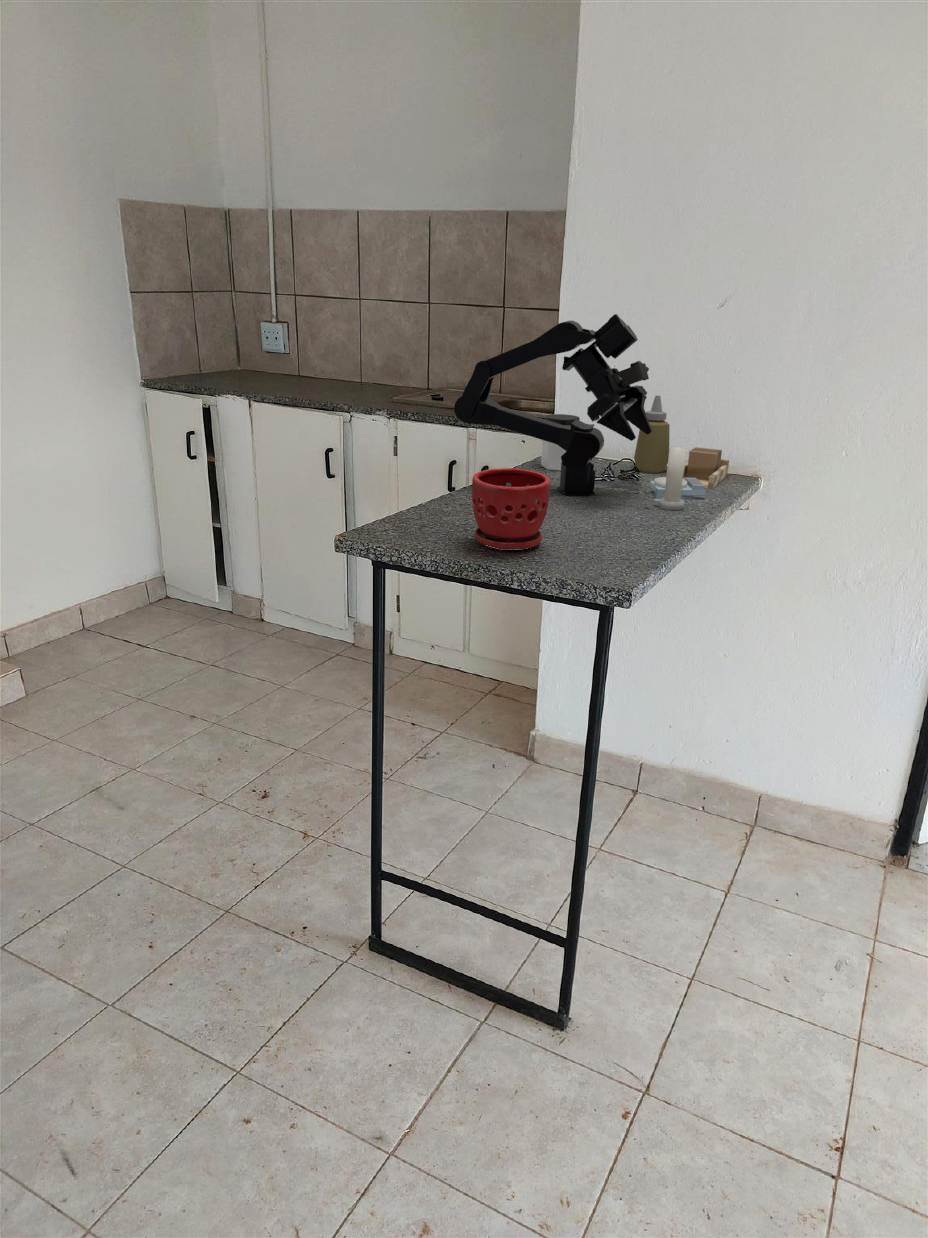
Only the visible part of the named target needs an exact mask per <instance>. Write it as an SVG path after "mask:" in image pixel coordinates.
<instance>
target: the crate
mask: <svg viewBox="0 0 928 1238" xmlns="http://www.w3.org/2000/svg"><path fill="white" fill-rule="evenodd" d="M722 453H723V449H716V448H709V447H708V448H707V447H698V446H697V447H693V448H692V449H691V450H689V453H688V461H687V462H688V469H687V477H686V478H697V479H700V480H709V477H710V476H711V475H712V474H713V473H714V472H715V471H717V470H718V469H719V468H720V462H721V459H722Z"/></svg>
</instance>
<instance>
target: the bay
mask: <svg viewBox="0 0 928 1238" xmlns="http://www.w3.org/2000/svg"><path fill="white" fill-rule="evenodd" d="M729 464H730V460H729V459H722V458H721V462H720V468H719V469H718V470H717V471H715V472H714V473H713V474H712V475H711V476H710V477H709V480H700V479H698V480H699V481H700V482H701V483H702V484H703V485H705V489H708V490H713V489H714V488H715V487H716V486H717V485H719V484H720V483H721V482H722V481H723V480H724V479H725V478H726V477H727V476H728V472H729ZM687 469H688V461H685V463H684V472H683V479H684V480H685V478H686V477H687Z"/></svg>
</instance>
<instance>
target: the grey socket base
mask: <svg viewBox="0 0 928 1238" xmlns="http://www.w3.org/2000/svg"><path fill="white" fill-rule="evenodd" d="M665 485H666V476H662V477H661V476H659V477H655V478H654V480H650V481H649V486H650V488H651V489H652V490H650V492H651V493H652V495H653V497H655V499H660V498H663V497H664V494H665ZM700 496H706V488H705V485H703V484H702V483H701V482H700V481H699V480H698V479H697V478H685V480H684V479H683V480H682V489H681V497H680V499H683V500H698V501H699V500H700V501H701V500H703V501H704V500H705V497H700Z"/></svg>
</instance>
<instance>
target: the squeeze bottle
mask: <svg viewBox="0 0 928 1238" xmlns="http://www.w3.org/2000/svg"><path fill="white" fill-rule="evenodd" d="M662 406H663V405H662V397H661V395H655V396H654V398H653V403H652V406H651V408H650V410H646V411H645V413H646V416H647V419H648V421H649V424H650V427H651V430H652V432H651V433H650V434H648V435H647V434H646V433H644V432H643V431H641V430H640V429H638V430H639V431H638V435H637V436H638V437H637V441H636V447H635V450H634V451H635V452H634V456H633V460H634V463H635V468H636V467H637V468H638V469H639V472H642V473H645V474H646V473H649V474H660V473H661V474H662V473H664V472H665V470H666V469H667V467H668V458H669V449H670V426H671V425H670V423H669V422H668V421H666V420H667V412H666V411H663V407H662ZM637 468H636V469H637Z"/></svg>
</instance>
